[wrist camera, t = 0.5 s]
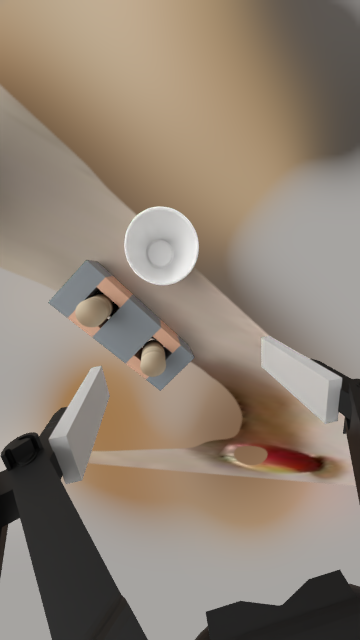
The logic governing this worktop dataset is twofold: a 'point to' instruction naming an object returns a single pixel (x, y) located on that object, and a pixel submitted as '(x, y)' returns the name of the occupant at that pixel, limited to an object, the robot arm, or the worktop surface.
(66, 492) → the robot arm
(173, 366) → the block
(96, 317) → the peg
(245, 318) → the worktop surface
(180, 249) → the cup
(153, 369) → the peg
